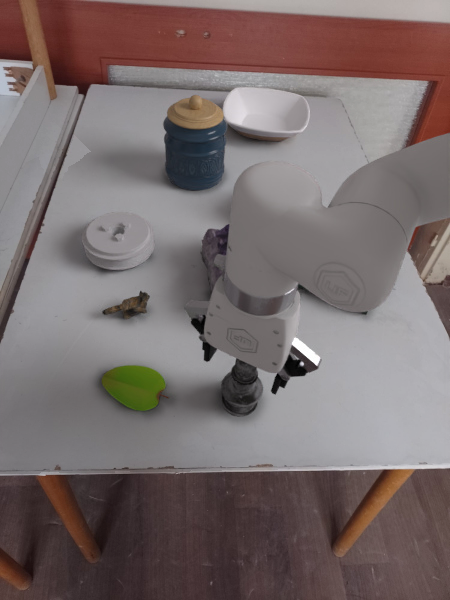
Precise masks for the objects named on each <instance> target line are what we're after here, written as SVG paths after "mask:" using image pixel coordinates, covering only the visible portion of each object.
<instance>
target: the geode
mask: <svg viewBox="0 0 450 600" xmlns="http://www.w3.org/2000/svg"><path fill="white" fill-rule="evenodd" d="M229 224H230V223H228V224H226V225H224V226H223V228H220V229H217V228H207V230H206V231H205V234H204V235H203V238H202V239H201V240H200V241H201V250H200V256H201V260H202V262H203V263H204V265H205V267H206V269H207V280H208V281H209V282H208V283H209V287H210V289H209V290H210V296H211V295H212V292H213V289H214V286H215V284H216V282H217V280H218V278H219V277H220V276H221V275H222V274H223V272H222V271H221V269H219V267H217V266H214V265H213V262H214V259H215V257H216V255H217V254H221V255H223V256H224V255H226V254H227V244H228V234H229Z"/></svg>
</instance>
